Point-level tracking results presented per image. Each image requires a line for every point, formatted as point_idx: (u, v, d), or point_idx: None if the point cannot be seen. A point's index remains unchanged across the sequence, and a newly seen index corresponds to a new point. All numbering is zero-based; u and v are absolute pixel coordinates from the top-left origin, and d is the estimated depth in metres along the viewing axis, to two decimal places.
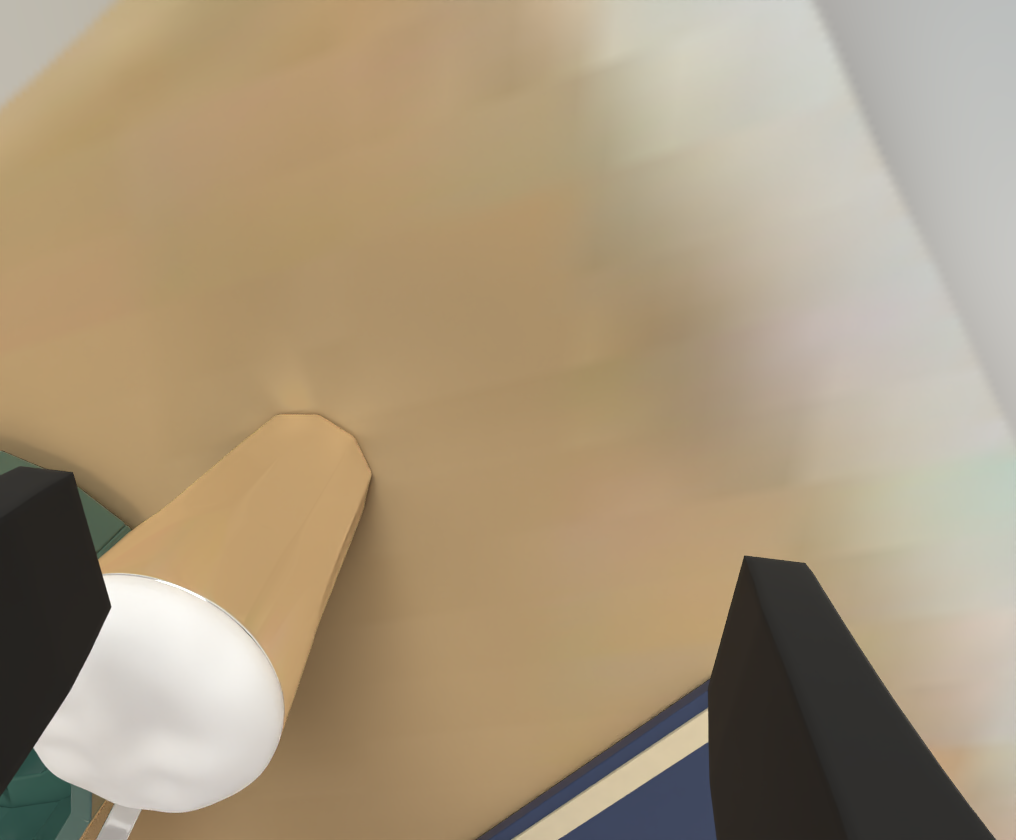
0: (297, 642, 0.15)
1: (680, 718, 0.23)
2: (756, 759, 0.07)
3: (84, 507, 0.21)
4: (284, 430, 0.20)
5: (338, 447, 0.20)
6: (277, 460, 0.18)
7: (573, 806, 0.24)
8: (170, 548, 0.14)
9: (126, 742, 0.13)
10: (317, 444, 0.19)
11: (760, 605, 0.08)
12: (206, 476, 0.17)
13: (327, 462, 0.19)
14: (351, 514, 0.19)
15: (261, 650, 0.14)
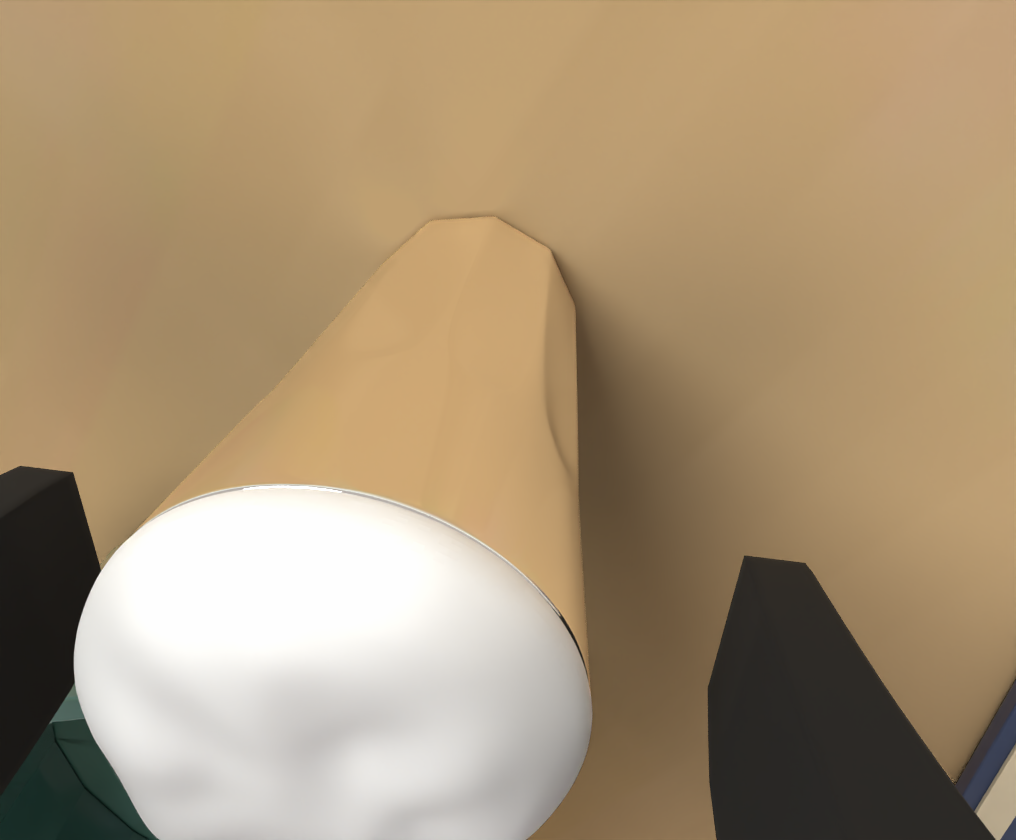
0: (516, 484, 0.08)
1: None
2: (756, 759, 0.07)
3: None
4: (392, 260, 0.13)
5: (472, 234, 0.13)
6: (380, 282, 0.11)
7: None
8: (219, 453, 0.08)
9: (314, 791, 0.07)
10: (439, 244, 0.12)
11: (760, 605, 0.08)
12: (298, 360, 0.11)
13: (461, 253, 0.12)
14: (539, 298, 0.12)
15: (427, 517, 0.07)
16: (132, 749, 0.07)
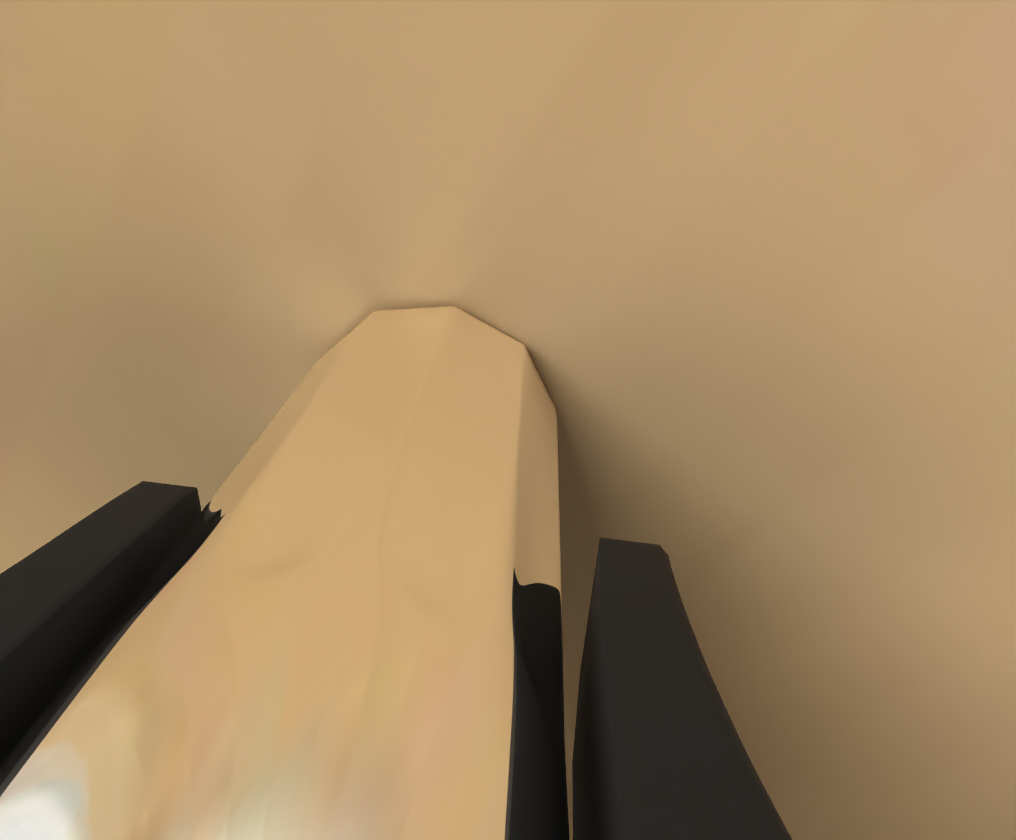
0: (468, 816, 0.05)
1: None
2: (591, 736, 0.08)
3: None
4: (323, 368, 0.10)
5: (423, 336, 0.10)
6: (297, 420, 0.08)
7: None
8: (8, 780, 0.05)
9: None
10: (381, 352, 0.10)
11: (601, 585, 0.08)
12: (187, 531, 0.08)
13: (408, 369, 0.09)
14: (509, 430, 0.09)
15: None
16: None
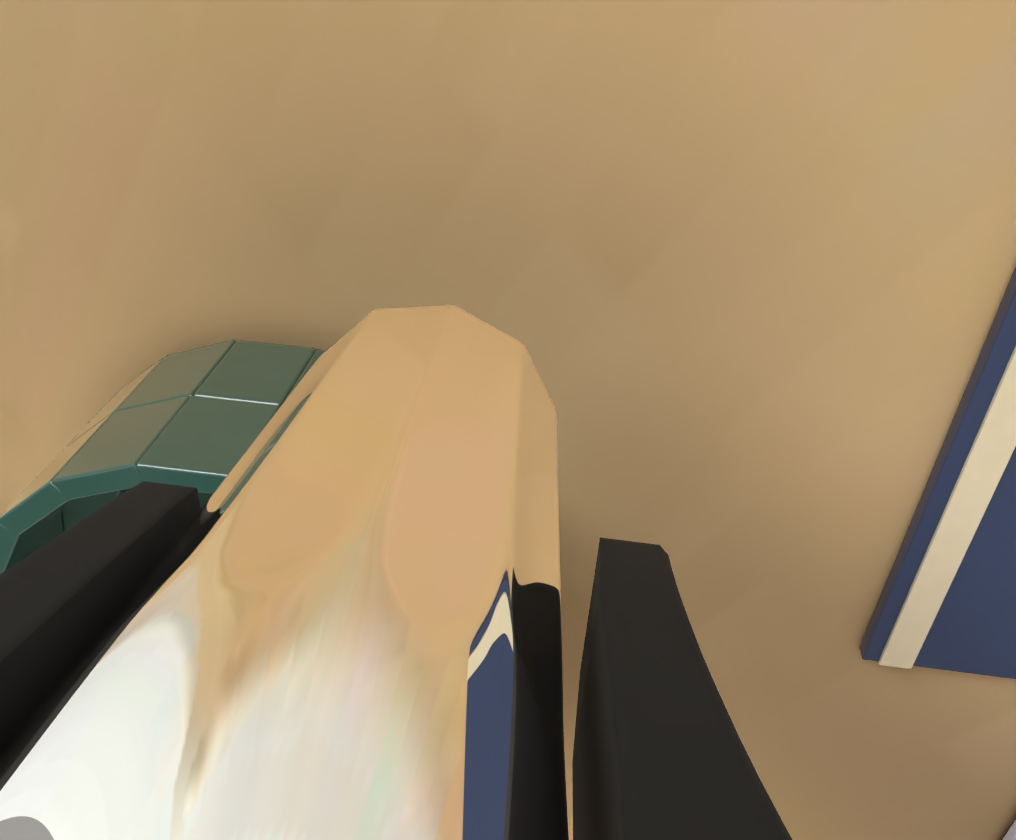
0: (467, 813, 0.05)
1: None
2: (591, 736, 0.08)
3: (263, 352, 0.18)
4: (322, 367, 0.10)
5: (423, 335, 0.10)
6: (297, 417, 0.08)
7: None
8: (6, 777, 0.05)
9: None
10: (380, 351, 0.10)
11: (601, 585, 0.08)
12: (186, 529, 0.08)
13: (408, 367, 0.09)
14: (508, 428, 0.09)
15: None
16: None
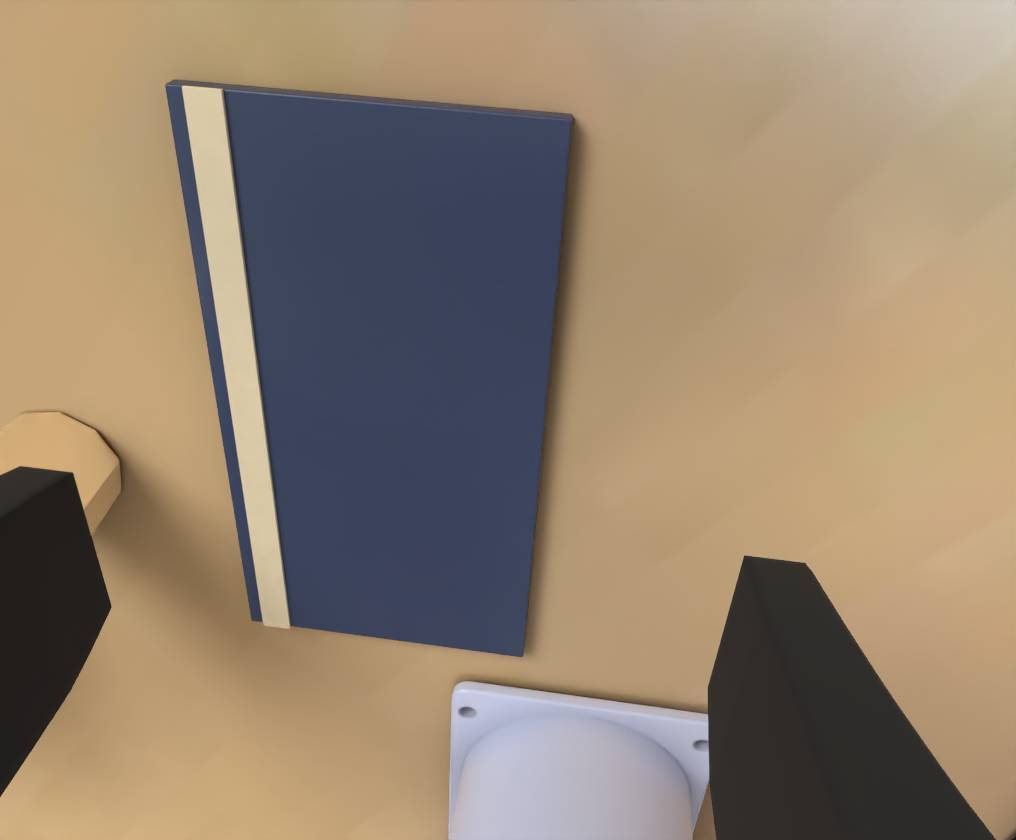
0: None
1: (186, 155, 0.18)
2: (756, 759, 0.07)
3: None
4: None
5: (29, 429, 0.21)
6: None
7: (232, 347, 0.20)
8: None
9: None
10: (4, 438, 0.21)
11: (760, 605, 0.08)
12: None
13: (7, 447, 0.21)
14: None
15: None
16: None
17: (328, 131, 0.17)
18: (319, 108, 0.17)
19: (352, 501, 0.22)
